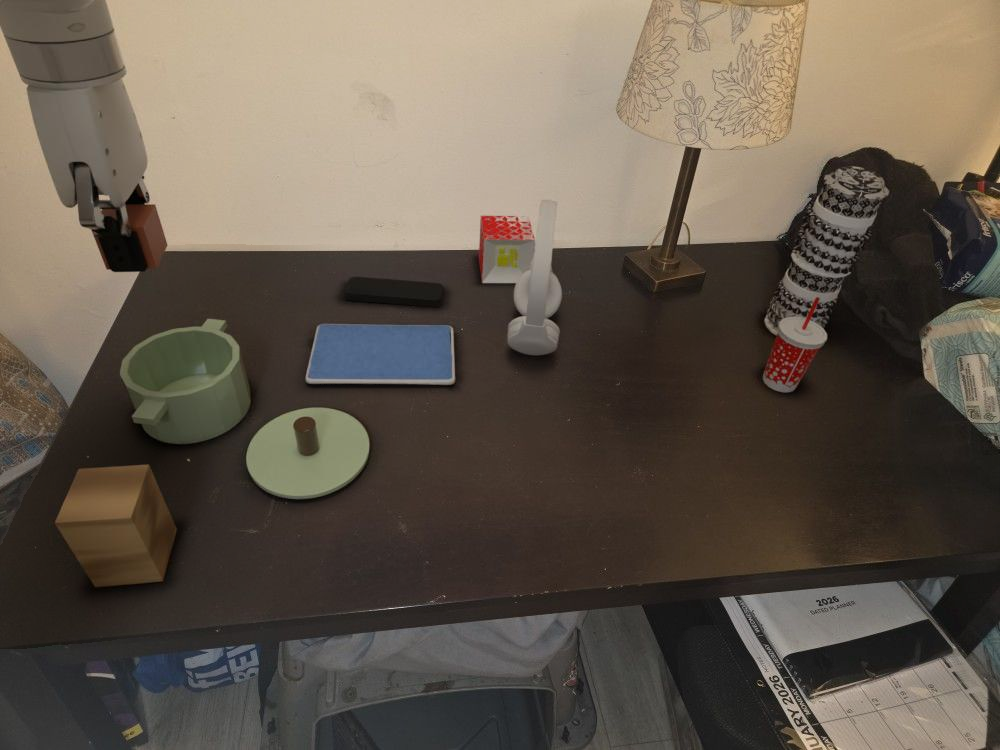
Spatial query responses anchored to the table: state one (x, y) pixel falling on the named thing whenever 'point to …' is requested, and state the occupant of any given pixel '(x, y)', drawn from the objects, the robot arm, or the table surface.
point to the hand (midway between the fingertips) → (136, 254)
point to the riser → (118, 525)
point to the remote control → (394, 291)
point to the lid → (308, 453)
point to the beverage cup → (793, 351)
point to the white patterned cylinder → (828, 245)
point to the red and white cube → (505, 248)
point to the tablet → (382, 354)
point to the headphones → (538, 293)
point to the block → (142, 232)
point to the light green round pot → (187, 383)
